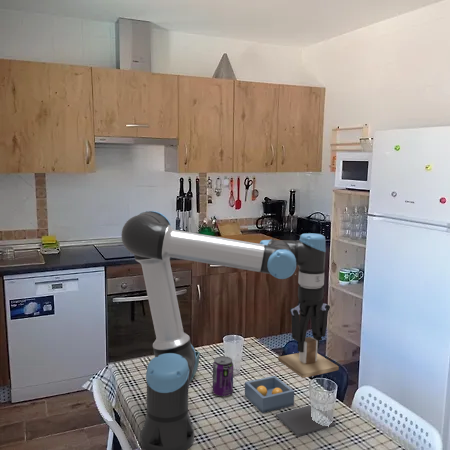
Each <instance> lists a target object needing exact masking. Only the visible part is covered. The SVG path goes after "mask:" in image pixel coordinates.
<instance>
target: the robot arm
mask: <svg viewBox="0 0 450 450" xmlns="http://www.w3.org/2000/svg"><path fill="white" fill-rule="evenodd" d="M120 234H121V243H122V244H123V246H124V247H125V249H126V250H127V251H128V252H129V253H131V254H133V256H134V260H135V261H136V262H137V263H139V264H140V265H141V268H142V269H141V270H142V274H143V279H144V285H145V289H146V295H147V299H148V303H149V310H150V314H151V318H152V324H153V328H154V335H155V338H156V339H155V340H154V342H153V343H152V349H153V354H154V357H153V358H152V359H150V361H149V362H148V364H147V367H146V373H145V379H146V416H145V418H144V419H145V420H144V422H143V425H142V428H141V431H140V445H141V447H142V449H144V450H188V449H189V448H191V447H192V445H193V444H194V441H195V429H194V426H193V423H192V421H191V418H190V414H189V386H190V383H191V382H190V380H191V377H192V373H193V371H194V368H195V365H196V353H195V351H196V350H195V348H194V346H193V345H192V341H191V337H190V335H188V334H187V333H186V332H184V328H183V327H184V326H183V322H182V318H181V312H180V308H179V307H180V306H179V302H178V296H177V292H176V291H177V290H176V286H175V285H176V284H175V281H174V280H175V279H174V276H173V275H174V274H173V270H172V267H171V265H172V264H171V260H170V259H171V258H173V259H177V260H178V259H179V260H185V261H191V262H197V263H203V264H209V265H216V266H222V267H228V268H234V269H238V270H246V271H251V272H256V273H257V272H258V273H263V274H269V275H271V276H272V277H274V278H276V279H279V280H286V279H289V278H290V277H292V276H293V275H294V273H295V271H296V269H297V267H298V281H297V283H298V284H299V285H298V286H297V297H298V302H297V304H296V306H295V307H294V308H293V307H290V308H289V313H290V315H291V338H292V340H295V341H296V342H297V351H298V353H299V360H300V361H301V362H303V363H304V364H305V363H306V356H307V342H305V338H306V336H307V330H308V326H309V321H310V322H311V333H312V337H311V338H313V339H315V340H316V358H315V361H317V353H318V350H319V349H320V342H321V341H322V340H323V338H325V337H326V333H327V332H326V331H327V323H328V313H329V311H330V309H331V308H330V307H331V306H330V305H329V304H327V303H324V302H323V300H324V296H325V295H324V291H325V288H324V285H325V267H326V266H325V265H326V252H327V250H326V248H327V247H326V236H324V235H323V234H321V233H311V232H308V233H302V234H300V235H299V240H298V239H297V240H281V239H272V238H271V239H262V240H260V242H259V243H257V242H256V243H255V242H252V241H250V242H249V241H245V240H244V241H243V240H237V239H232V238H226V237H219V236H214V235H207V234H202V233H196V232H190V231H184V230H178V229H174V228H173V227H172V224H171V222H170V220H169V219H168V218H167V216H166V215H164V214H163V213H161V212H159V211H154V210H148V211H147V210H146V211H143V212H141V213H139V214H137V215H135V216H132V217H131V218H129V219H128V220H126V221H125V223H124V225H123V227H122V229H121V233H120Z"/></svg>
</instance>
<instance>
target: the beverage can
mask: <svg viewBox="0 0 450 450" xmlns="http://www.w3.org/2000/svg"><path fill="white" fill-rule="evenodd" d="M211 390H212V393H213V395H216V396H219V397H227V396H230V395H232V393H233V392H234V363H233V359H232V358H231V357H230V356H225V355H223V356H222V355H220V356H216V357H215V358H214V360H213V364H212V389H211Z"/></svg>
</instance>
